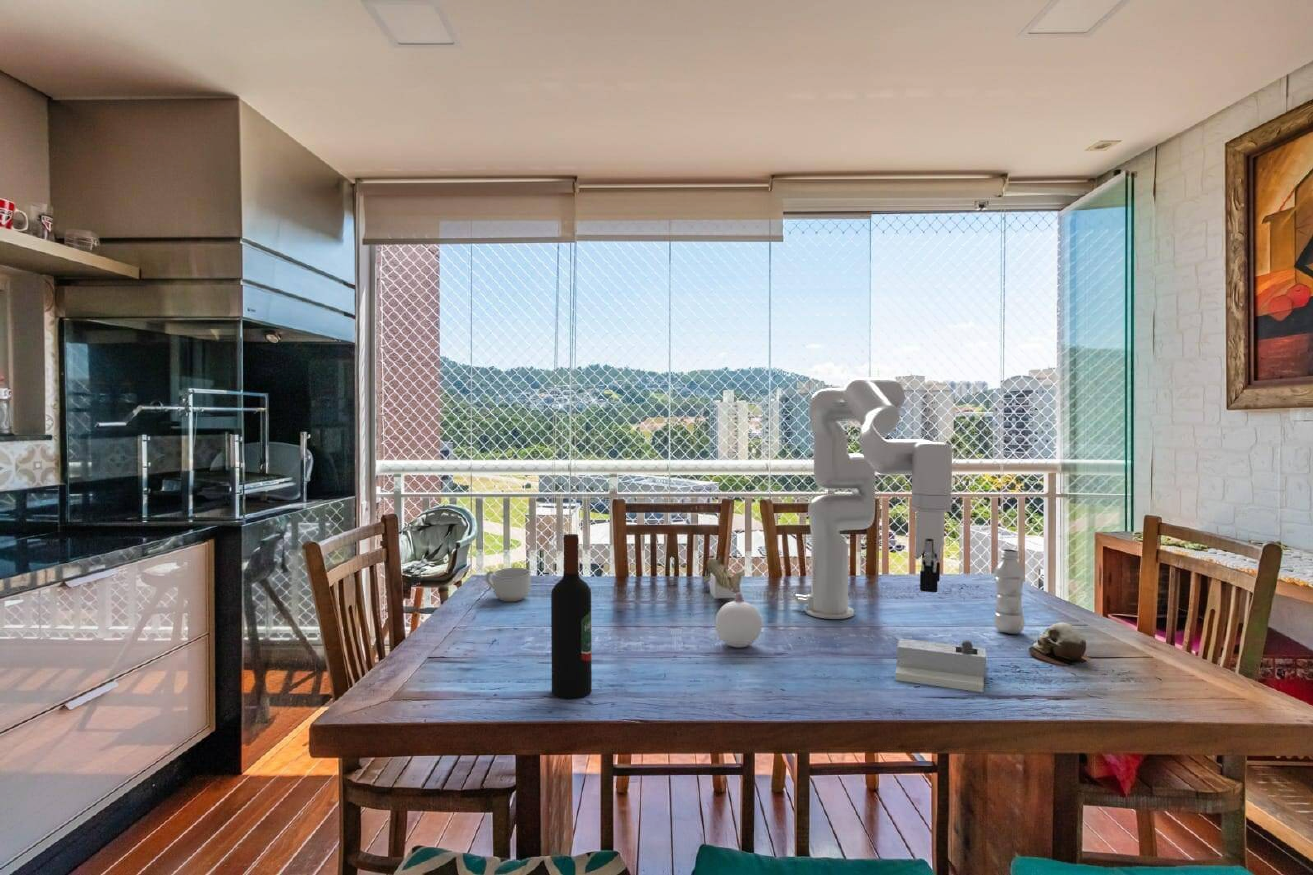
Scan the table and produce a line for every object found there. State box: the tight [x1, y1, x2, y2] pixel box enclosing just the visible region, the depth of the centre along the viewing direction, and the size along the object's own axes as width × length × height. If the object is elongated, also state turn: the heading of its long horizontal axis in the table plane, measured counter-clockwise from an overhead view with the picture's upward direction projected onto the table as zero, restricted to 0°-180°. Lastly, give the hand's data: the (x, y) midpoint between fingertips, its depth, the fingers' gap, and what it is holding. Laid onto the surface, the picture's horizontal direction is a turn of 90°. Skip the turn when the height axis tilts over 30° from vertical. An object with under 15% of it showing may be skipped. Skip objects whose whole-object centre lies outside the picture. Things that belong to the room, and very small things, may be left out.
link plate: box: [896, 638, 987, 679], centre depth 147 cm, size 16×6×4 cm, turn 66°
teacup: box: [485, 567, 532, 603], centre depth 209 cm, size 14×11×8 cm
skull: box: [1028, 622, 1093, 667], centre depth 158 cm, size 12×10×10 cm
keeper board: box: [894, 640, 985, 693], centre depth 147 cm, size 16×14×8 cm
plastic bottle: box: [993, 548, 1025, 635], centre depth 175 cm, size 6×7×20 cm
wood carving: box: [702, 556, 743, 599], centre depth 210 cm, size 9×35×11 cm, turn 8°
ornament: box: [714, 593, 763, 648], centre depth 165 cm, size 10×10×12 cm
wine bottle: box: [550, 533, 593, 700], centre depth 138 cm, size 8×8×30 cm
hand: (930, 586), depth 148 cm, fingers open, 9 cm apart
